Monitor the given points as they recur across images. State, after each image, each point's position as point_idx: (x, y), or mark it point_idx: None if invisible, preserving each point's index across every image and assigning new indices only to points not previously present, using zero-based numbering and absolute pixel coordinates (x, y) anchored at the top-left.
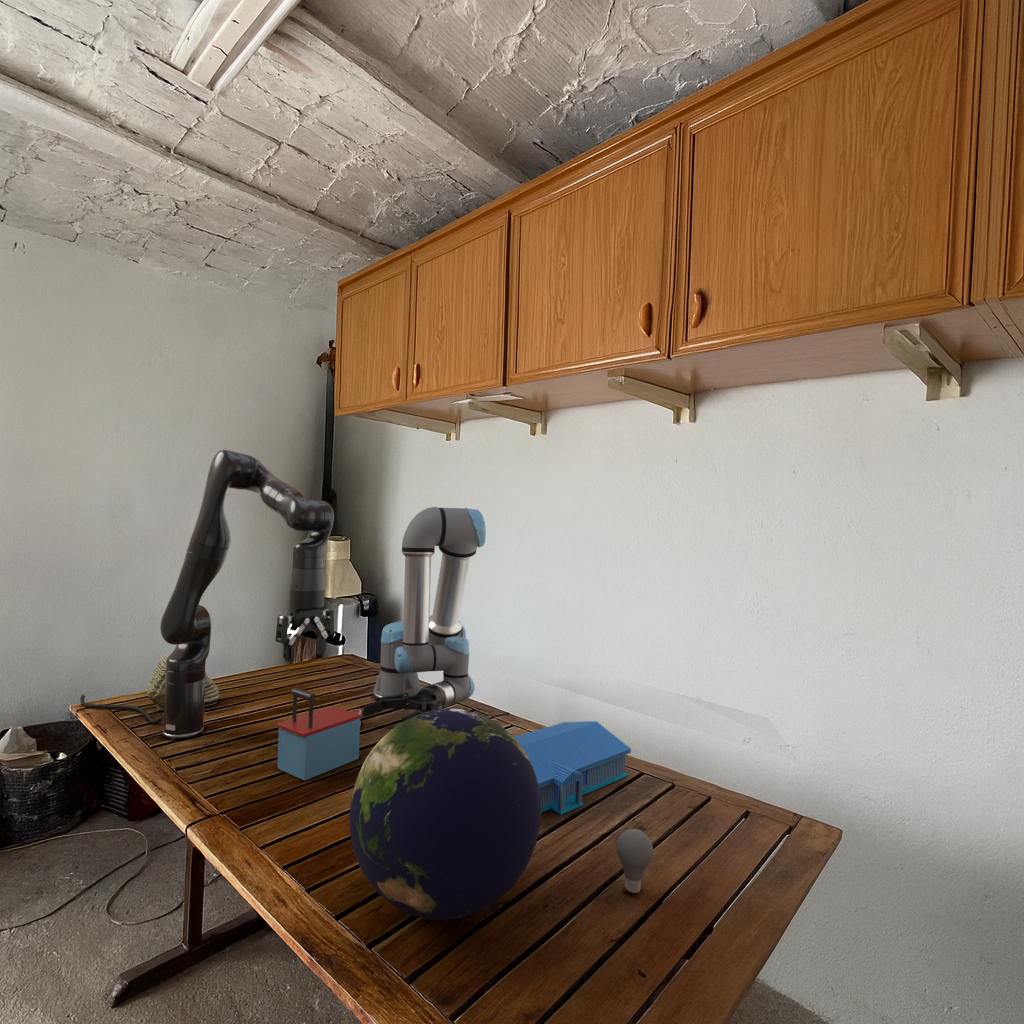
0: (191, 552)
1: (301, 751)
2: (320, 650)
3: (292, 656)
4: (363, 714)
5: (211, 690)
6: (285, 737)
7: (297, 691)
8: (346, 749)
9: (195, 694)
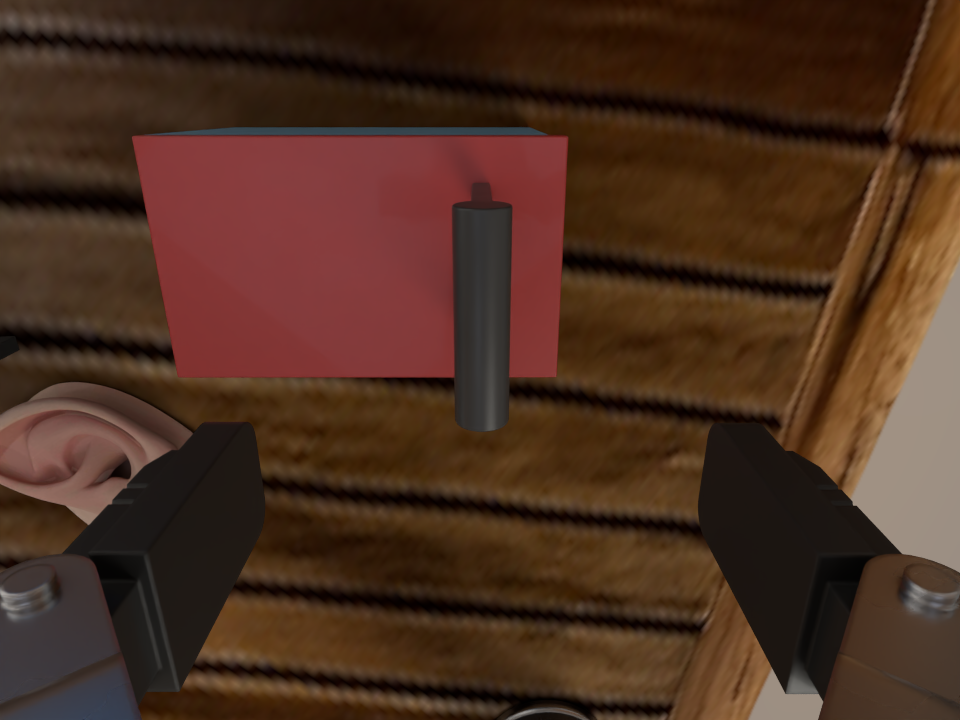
0: None
1: None
2: (234, 471)
3: (756, 446)
4: (11, 352)
5: None
6: None
7: (504, 364)
8: (290, 129)
9: None
